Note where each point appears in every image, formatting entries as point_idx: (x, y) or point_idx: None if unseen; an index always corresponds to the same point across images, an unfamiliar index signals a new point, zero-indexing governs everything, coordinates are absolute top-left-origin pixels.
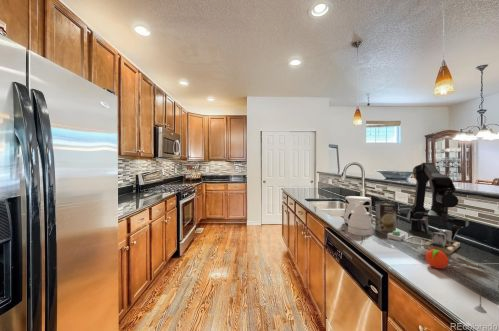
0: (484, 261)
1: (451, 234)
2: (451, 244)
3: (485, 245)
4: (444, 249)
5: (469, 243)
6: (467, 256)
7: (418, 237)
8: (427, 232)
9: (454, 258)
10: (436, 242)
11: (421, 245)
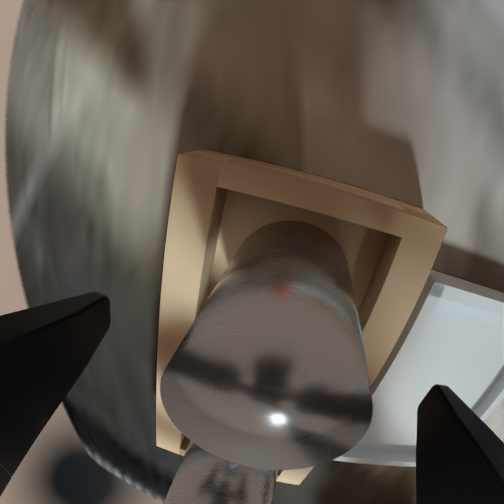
0: (35, 224)
1: (170, 487)
2: None
3: (115, 473)
4: (227, 163)
5: (159, 483)
6: (103, 266)
7: (409, 460)
8: (440, 419)
9: (166, 121)
10: (316, 262)
11: (443, 282)
